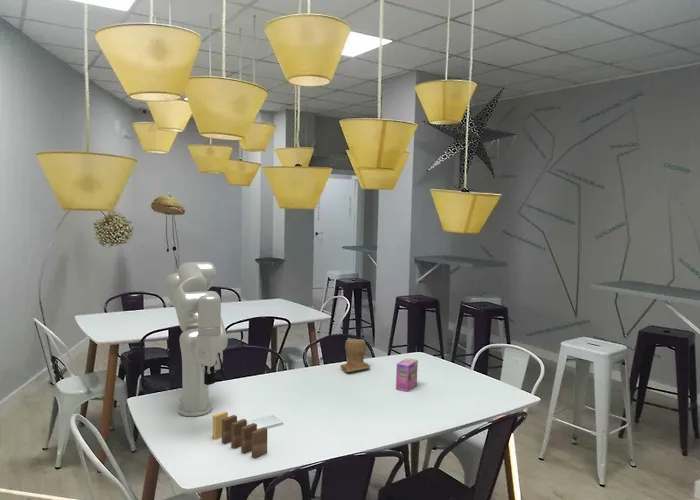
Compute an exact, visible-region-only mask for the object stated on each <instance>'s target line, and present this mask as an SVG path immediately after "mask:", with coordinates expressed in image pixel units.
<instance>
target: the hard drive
mask: <svg viewBox="0 0 700 500" xmlns="http://www.w3.org/2000/svg"><path fill="white" fill-rule="evenodd" d="M252 423H255V424H257V430H258V429H261V428H263V427H265V428H267V430H268V429H272V428H276V427H279V426H280V427H281V426H283V425H284V421H282V420H281V419H279V418H278V417H277V416H275V415H274V414H272V415H267V416H263V417H259V418H255V419H250V420H247V425H250V424H252Z"/></svg>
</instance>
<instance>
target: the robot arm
mask: <svg viewBox="0 0 700 500" xmlns="http://www.w3.org/2000/svg"><path fill="white" fill-rule="evenodd" d="M216 279H217V268H216V266H215V265H214V263H212V262H211V261H192V262H191V261H190V262H185V263H182V264H181V265H179V267H178V269H177V272H174V273H171V274H169V275H167V277H166V278H165V290H166V291H165V292H166V295H167V298H168V299H169V301H170V302H171V305H173V307H174V309H175V313H176V317H177V320H178V324H179V327H180V329H181V331H182V332H181V334H180V336H179V348H180V352H181V353H180V354H181V365H182V366H181V368H182V370H181V372H182V373H181V374H182V378H181V379H182V380H181V381H182V389H181V390H182V396H180V397H179V401H180V402H181V405H180V406H179V407H178V409H177V413H178V414H179V415H182V416H184V417H200V416H204V415H206V414H207V415H208V414H209V413H210V412H212V411H213V405H212V403H210V402H209V386H210V385H214V384H215V383H216V377H215V376H216V372H217V371H218V370H221V365H222V364H223V362H224V359H223V358H224V354H223V353H224V352H223V351H224V350H225V349H227V346H228V343H229V341H228V339H229V338H228V335H227V332H226V328H225V324H224V322H223V318H222V299H221V296H220V295H219V292H217V291H213V290H210V289H211V287H212V286H213V284H214V283H215V281H216Z"/></svg>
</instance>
